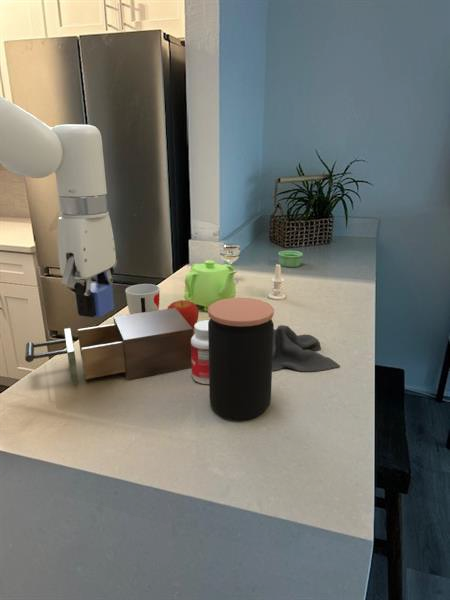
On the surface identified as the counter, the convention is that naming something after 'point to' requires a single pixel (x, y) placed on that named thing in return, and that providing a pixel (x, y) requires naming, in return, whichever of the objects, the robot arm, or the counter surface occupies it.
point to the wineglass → (230, 253)
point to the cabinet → (155, 342)
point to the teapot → (209, 283)
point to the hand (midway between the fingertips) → (96, 309)
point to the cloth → (298, 352)
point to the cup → (142, 298)
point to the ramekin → (290, 258)
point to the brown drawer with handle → (89, 351)
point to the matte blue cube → (102, 298)
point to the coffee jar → (240, 357)
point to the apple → (186, 311)
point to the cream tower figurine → (277, 285)
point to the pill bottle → (200, 352)
